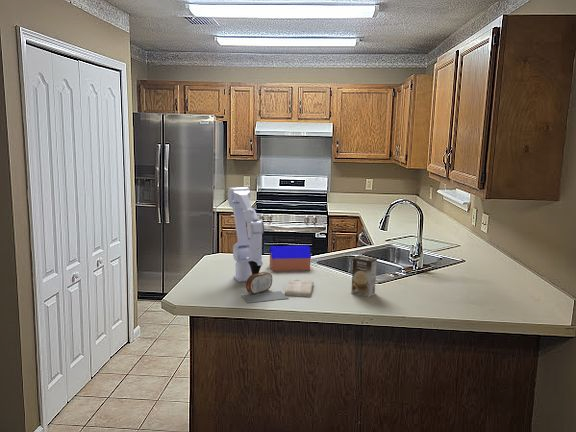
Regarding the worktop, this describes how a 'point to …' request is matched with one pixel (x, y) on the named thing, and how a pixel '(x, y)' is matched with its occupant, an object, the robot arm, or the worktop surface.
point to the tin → (259, 282)
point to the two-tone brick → (289, 258)
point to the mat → (264, 297)
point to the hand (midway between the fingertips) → (255, 277)
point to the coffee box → (364, 276)
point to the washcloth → (299, 288)
